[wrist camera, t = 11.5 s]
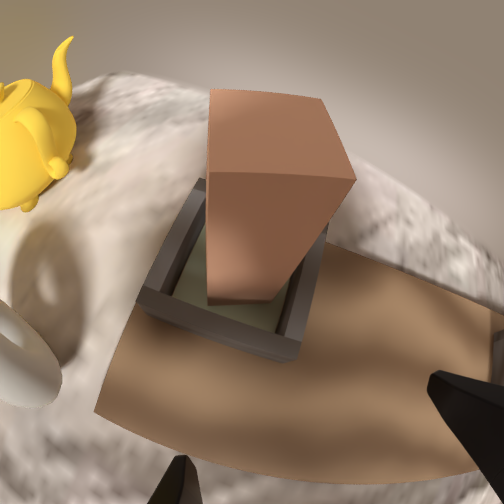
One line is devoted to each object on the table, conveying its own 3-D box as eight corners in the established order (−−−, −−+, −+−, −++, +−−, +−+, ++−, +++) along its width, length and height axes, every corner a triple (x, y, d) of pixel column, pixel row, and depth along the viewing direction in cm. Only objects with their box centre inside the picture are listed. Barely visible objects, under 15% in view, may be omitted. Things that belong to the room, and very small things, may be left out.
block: (270, 303, 18) (356, 179, 7) (207, 305, 17) (209, 172, 7) (263, 247, 20) (321, 99, 9) (205, 248, 19) (210, 89, 8)
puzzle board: (504, 459, 14) (530, 458, 10) (101, 410, 14) (73, 415, 10) (520, 330, 22) (544, 319, 18) (190, 206, 22) (188, 168, 18)
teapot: (19, 291, 17) (-70, 218, 7) (-41, 229, 17) (-94, 167, 7) (141, 128, 26) (130, 31, 16) (59, 109, 27) (39, 38, 16)
